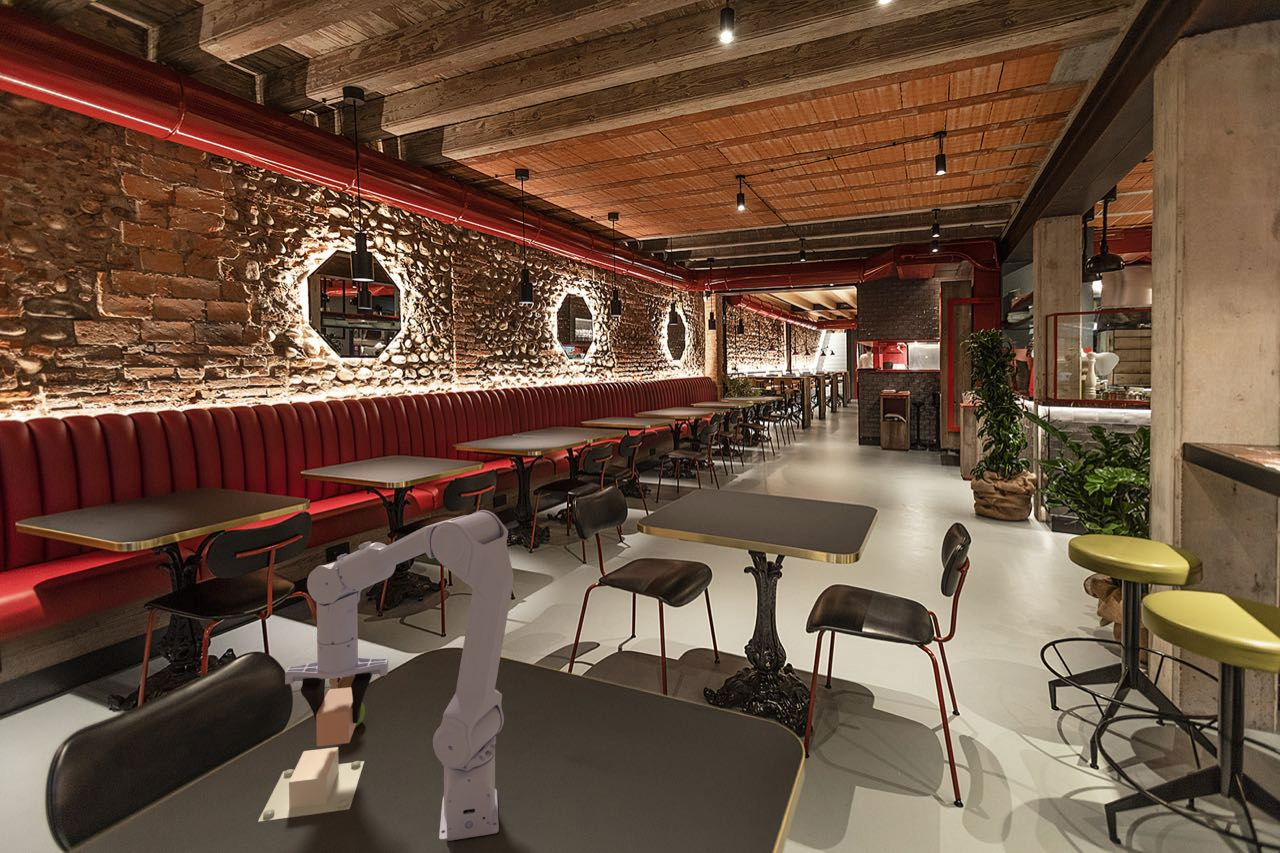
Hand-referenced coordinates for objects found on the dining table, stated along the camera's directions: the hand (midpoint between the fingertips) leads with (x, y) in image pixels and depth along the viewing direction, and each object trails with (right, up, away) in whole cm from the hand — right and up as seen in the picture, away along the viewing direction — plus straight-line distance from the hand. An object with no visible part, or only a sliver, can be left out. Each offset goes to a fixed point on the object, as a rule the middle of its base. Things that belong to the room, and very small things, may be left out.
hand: (338, 721), depth 98 cm
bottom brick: (-2, -9, -3) cm, 10 cm away
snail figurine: (-6, -9, +15) cm, 18 cm away
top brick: (0, -1, 0) cm, 1 cm away
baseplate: (-2, -10, -3) cm, 10 cm away
